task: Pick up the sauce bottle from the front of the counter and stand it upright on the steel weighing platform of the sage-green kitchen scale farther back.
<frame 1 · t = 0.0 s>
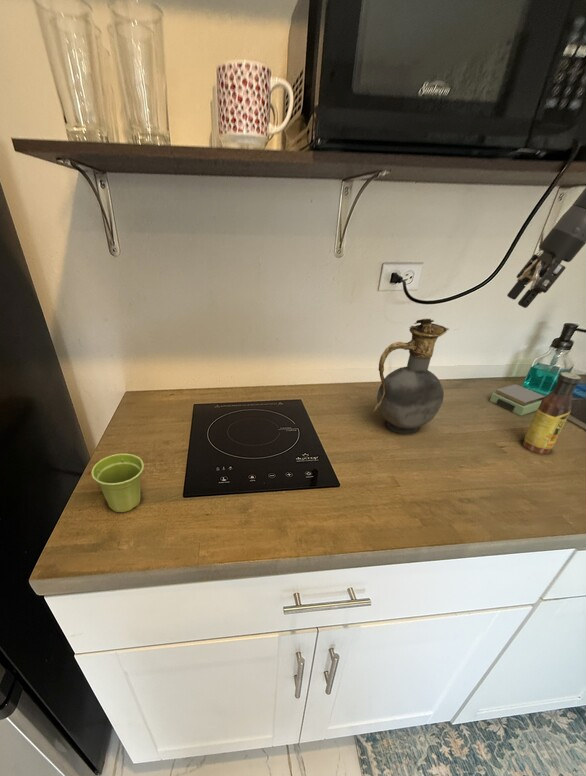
hand: (515, 301, 95), 32 cm above the worktop, tool tilted 20°, fingers open, 8 cm apart
sauce bottle: (535, 448, 98), on the worktop
plant pot: (125, 502, 78), on the worktop
scale platform: (519, 394, 116), point 4 cm above the worktop, slide at 0.0 cm
pitcher: (396, 429, 105), on the worktop
scale: (514, 405, 118), on the worktop
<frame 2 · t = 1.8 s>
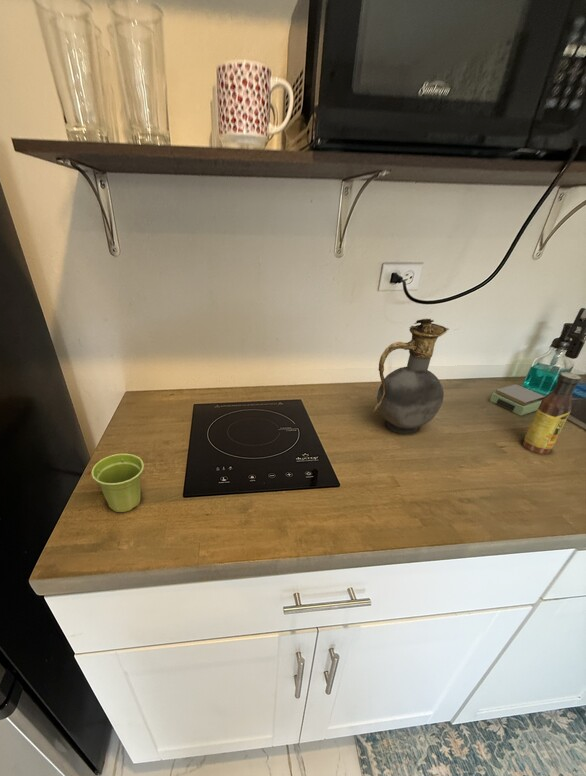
hand: (581, 354, 85), 25 cm above the worktop, tool pointing down, fingers open, 8 cm apart
nothing on the worktop moved.
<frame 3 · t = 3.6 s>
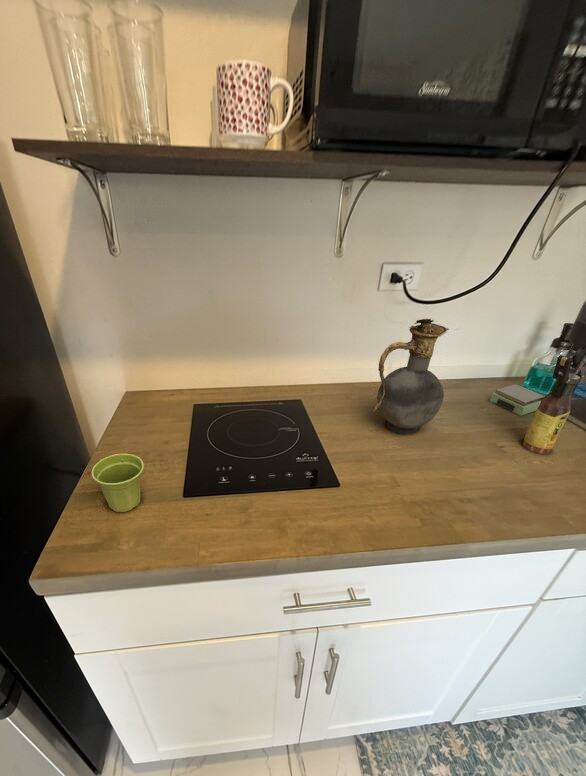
hand: (562, 394, 90), 15 cm above the worktop, tool pointing down, fingers closed on sauce bottle, 4 cm apart
sauce bottle: (535, 448, 98), on the worktop, touching gripper
everything else where it was.
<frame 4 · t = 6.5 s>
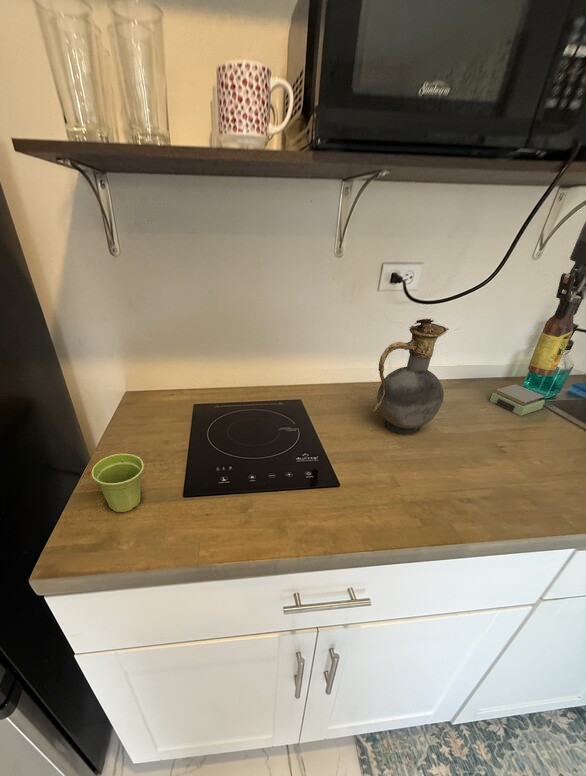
hand: (564, 315, 97), 29 cm above the worktop, tool pointing down, fingers closed on sauce bottle, 4 cm apart
sauce bottle: (539, 372, 105), point 14 cm above the worktop, touching gripper
everything else where it was.
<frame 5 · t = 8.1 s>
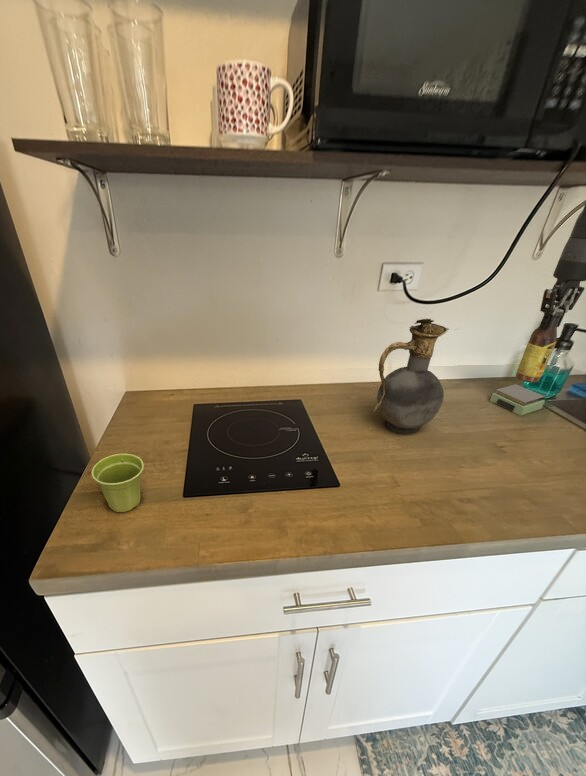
hand: (549, 327, 105), 24 cm above the worktop, tool pointing down, fingers closed on sauce bottle, 4 cm apart
sauce bottle: (526, 379, 113), point 9 cm above the worktop, touching gripper
everything else where it was.
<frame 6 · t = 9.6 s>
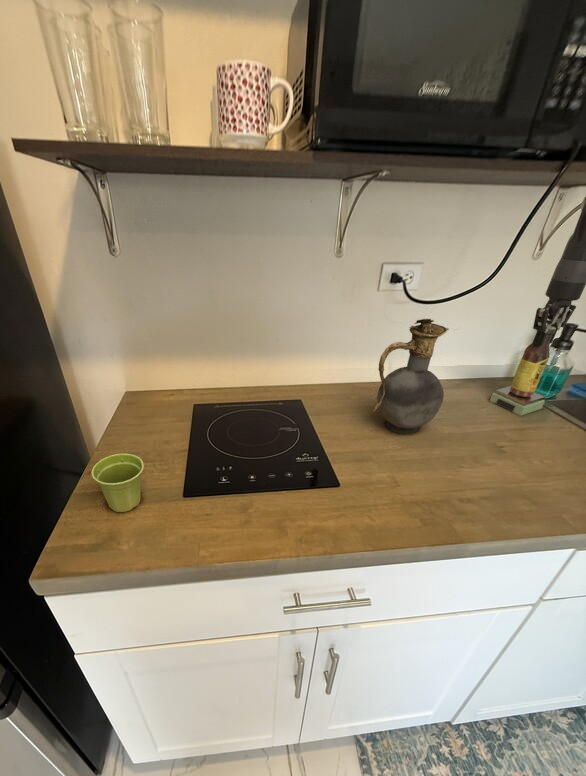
hand: (541, 343, 107), 20 cm above the worktop, tool pointing down, fingers closed on sauce bottle, 4 cm apart
sauce bottle: (520, 393, 115), point 4 cm above the worktop, touching gripper, scale platform
scale platform: (519, 394, 116), point 4 cm above the worktop, slide at -0.1 cm, touching sauce bottle
everything else where it was.
when the fingers open (20 cm above the worktop, at t = 9.7 s): sauce bottle stays where it is, resting on scale platform.
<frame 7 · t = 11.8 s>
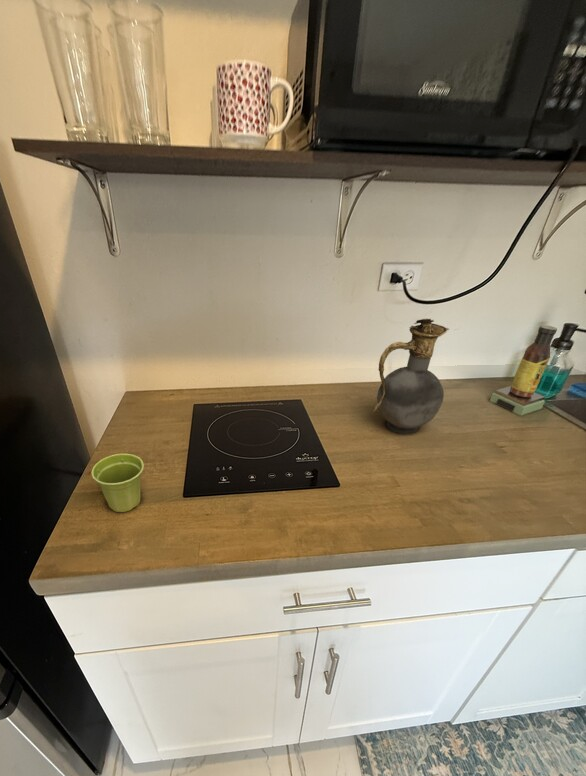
sauce bottle: (520, 394, 116), point 4 cm above the worktop, touching scale platform
everything else where it was.
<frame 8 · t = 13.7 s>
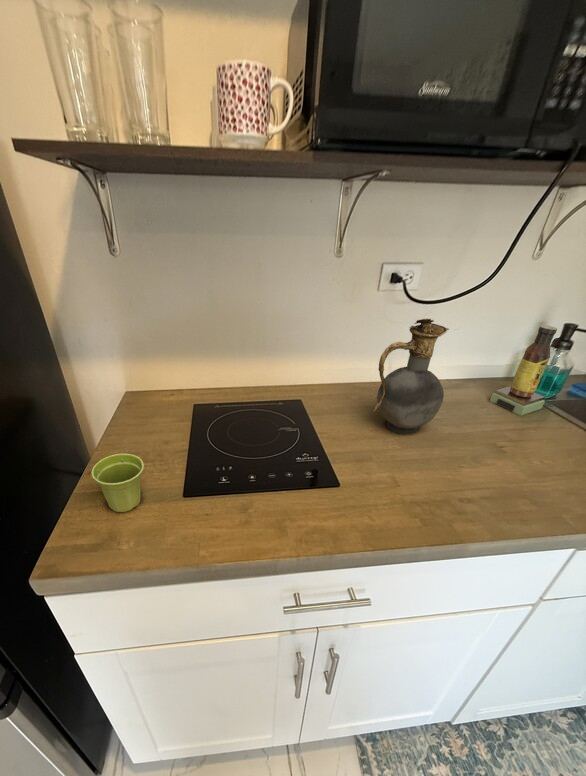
nothing on the worktop moved.
at the end: sauce bottle inside the target area on the scale (0.1 cm from its centre), point 4.0 cm above the scale's base; sauce bottle tilted 0°; the gripper is holding nothing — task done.
